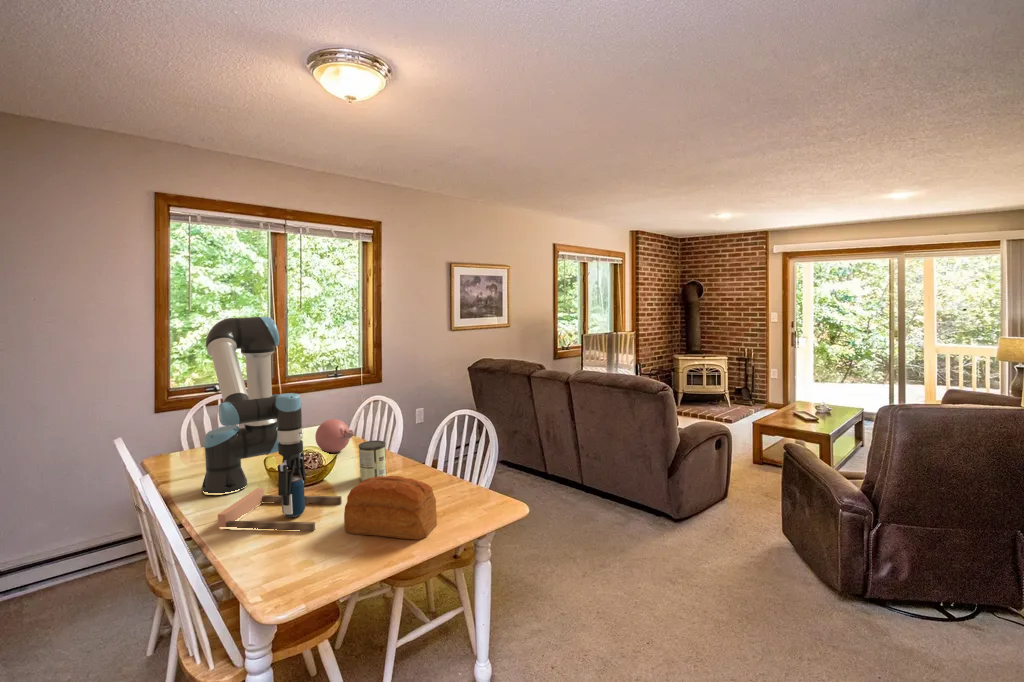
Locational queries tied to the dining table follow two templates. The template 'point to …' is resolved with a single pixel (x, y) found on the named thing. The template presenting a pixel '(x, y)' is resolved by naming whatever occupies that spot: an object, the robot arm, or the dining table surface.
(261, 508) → the dining table surface
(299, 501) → the soda can
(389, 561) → the dining table surface
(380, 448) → the coffee can
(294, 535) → the dining table surface
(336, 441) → the pink party balloon
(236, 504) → the end stop
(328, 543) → the dining table surface
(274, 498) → the walnut lane
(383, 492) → the bread
